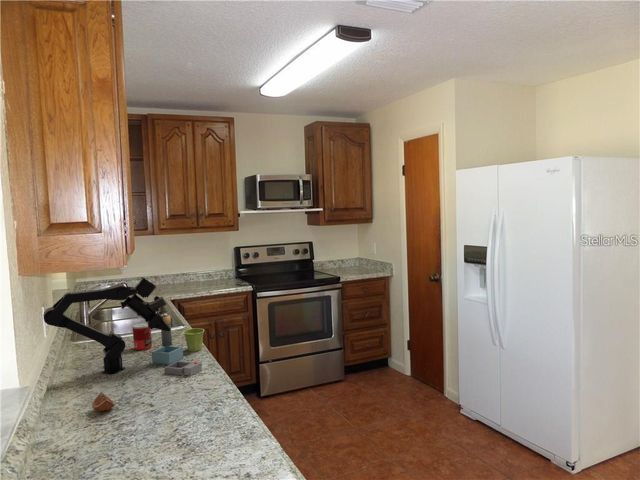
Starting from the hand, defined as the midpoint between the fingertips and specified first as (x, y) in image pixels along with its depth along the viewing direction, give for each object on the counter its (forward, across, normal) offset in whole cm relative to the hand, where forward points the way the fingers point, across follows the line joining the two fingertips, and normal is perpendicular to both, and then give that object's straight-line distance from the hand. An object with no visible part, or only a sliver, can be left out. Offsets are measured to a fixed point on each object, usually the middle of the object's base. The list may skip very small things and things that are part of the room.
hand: (169, 329), depth 201 cm
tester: (+12, -17, +7) cm, 22 cm away
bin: (+9, 0, +10) cm, 14 cm away
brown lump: (-8, -41, +28) cm, 50 cm away
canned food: (+3, +26, +17) cm, 31 cm away
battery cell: (+4, 0, +6) cm, 7 cm away
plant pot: (+18, +10, +2) cm, 20 cm away
